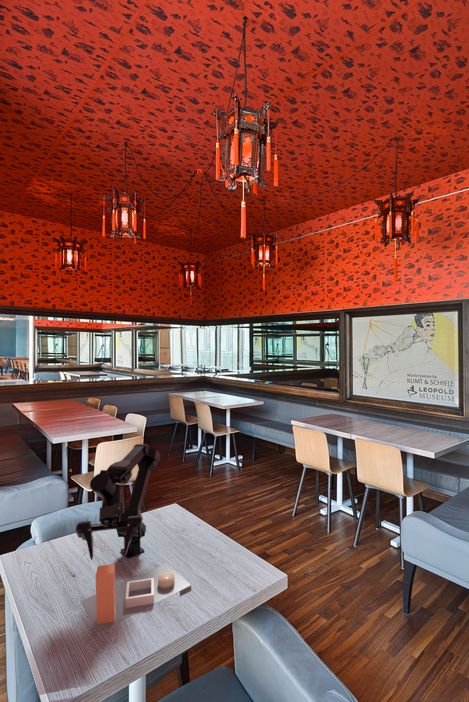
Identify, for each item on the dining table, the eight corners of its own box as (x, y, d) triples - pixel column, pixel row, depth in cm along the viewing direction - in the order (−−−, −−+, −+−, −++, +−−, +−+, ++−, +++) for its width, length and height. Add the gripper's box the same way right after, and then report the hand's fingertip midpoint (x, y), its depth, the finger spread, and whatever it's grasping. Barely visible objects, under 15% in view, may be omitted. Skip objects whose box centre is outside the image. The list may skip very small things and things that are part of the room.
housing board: (80, 604, 107) (80, 592, 107) (166, 565, 125) (166, 555, 125) (99, 636, 95) (98, 622, 95) (191, 588, 113) (190, 577, 113)
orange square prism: (99, 612, 102) (97, 566, 102) (115, 609, 103) (114, 563, 103) (96, 624, 98) (95, 575, 98) (114, 621, 99) (113, 573, 99)
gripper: (76, 495, 110) (68, 553, 100) (140, 489, 114) (140, 543, 104) (81, 510, 118) (75, 564, 108) (142, 504, 122) (141, 555, 112)
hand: (108, 557), depth 107 cm, fingers open, 9 cm apart
